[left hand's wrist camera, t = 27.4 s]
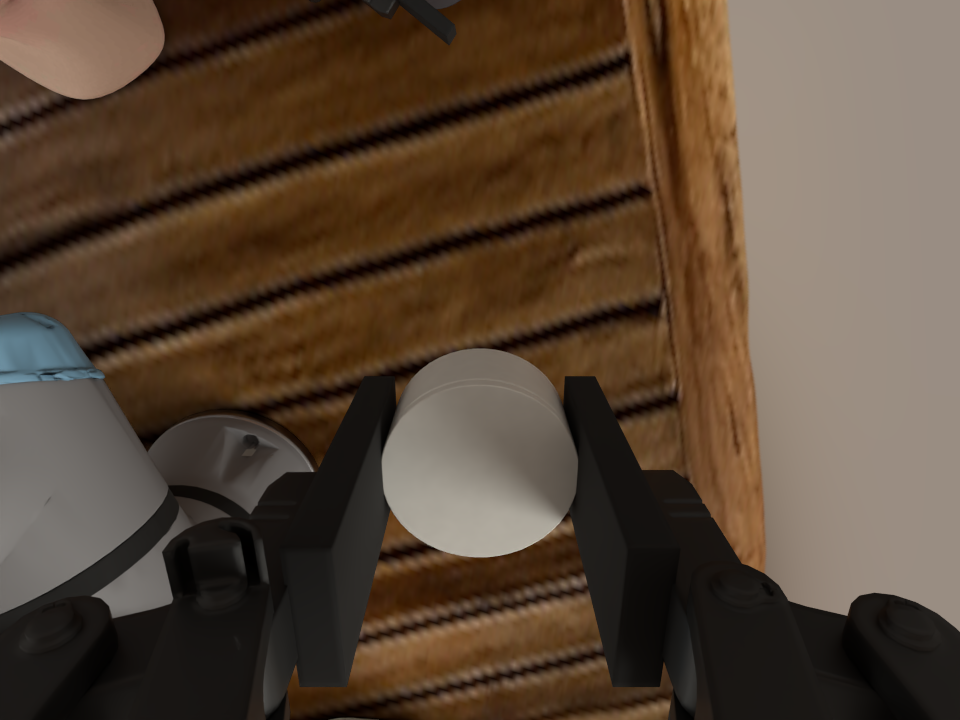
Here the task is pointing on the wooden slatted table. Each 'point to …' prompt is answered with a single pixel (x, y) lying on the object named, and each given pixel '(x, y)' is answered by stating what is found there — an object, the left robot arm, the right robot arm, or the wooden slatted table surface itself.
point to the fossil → (351, 719)
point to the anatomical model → (80, 42)
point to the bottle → (441, 3)
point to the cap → (479, 455)
